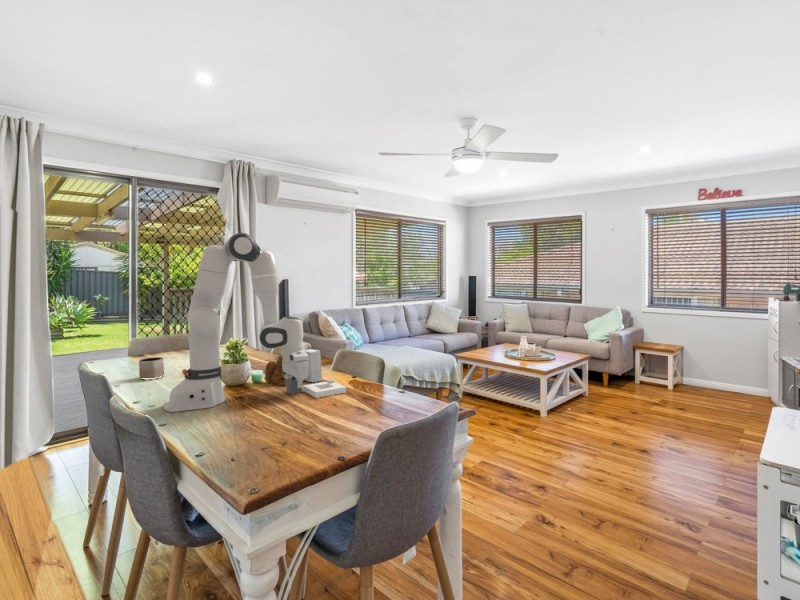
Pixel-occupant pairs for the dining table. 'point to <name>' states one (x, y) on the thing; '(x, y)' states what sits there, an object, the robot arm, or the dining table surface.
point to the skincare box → (314, 366)
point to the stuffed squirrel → (275, 372)
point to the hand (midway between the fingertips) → (294, 385)
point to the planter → (151, 367)
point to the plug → (292, 386)
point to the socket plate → (324, 389)
